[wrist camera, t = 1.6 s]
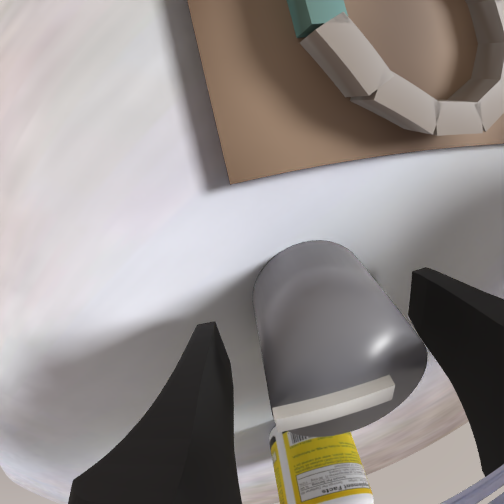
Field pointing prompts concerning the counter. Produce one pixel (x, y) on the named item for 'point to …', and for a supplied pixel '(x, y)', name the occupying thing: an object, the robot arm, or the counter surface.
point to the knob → (331, 342)
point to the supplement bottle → (318, 469)
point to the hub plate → (303, 101)
